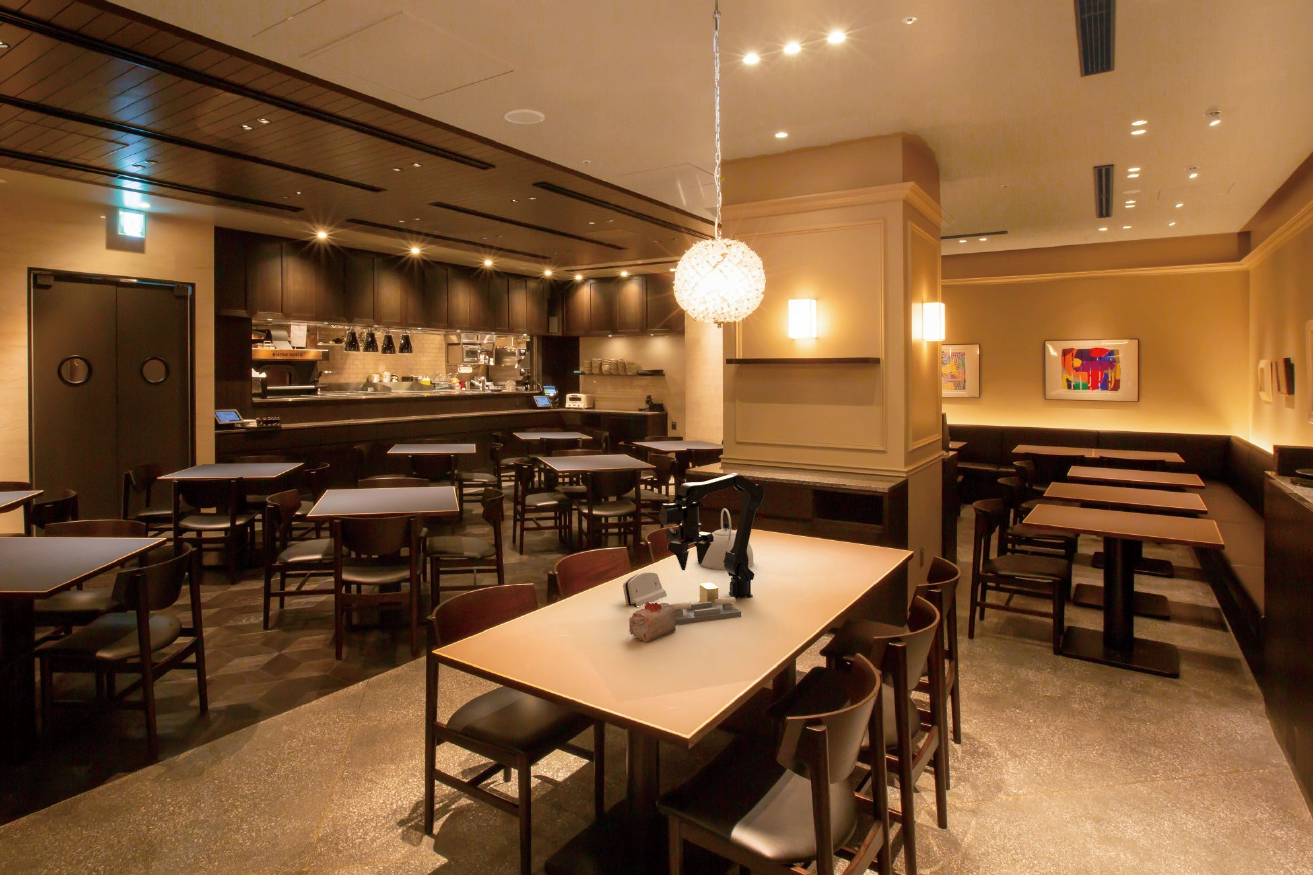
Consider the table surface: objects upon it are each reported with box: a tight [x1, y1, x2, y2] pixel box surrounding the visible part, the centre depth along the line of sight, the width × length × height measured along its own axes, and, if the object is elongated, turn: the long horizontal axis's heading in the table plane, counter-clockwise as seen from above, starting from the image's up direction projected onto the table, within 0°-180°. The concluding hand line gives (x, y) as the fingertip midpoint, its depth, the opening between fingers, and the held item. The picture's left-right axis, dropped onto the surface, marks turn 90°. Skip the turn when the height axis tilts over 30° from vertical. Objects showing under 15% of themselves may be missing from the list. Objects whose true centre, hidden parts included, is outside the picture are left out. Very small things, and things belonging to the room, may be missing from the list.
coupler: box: [699, 582, 719, 604], centre depth 236 cm, size 6×4×6 cm, turn 20°
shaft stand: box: [669, 596, 742, 625], centre depth 224 cm, size 22×10×5 cm, turn 110°
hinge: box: [622, 572, 668, 607], centre depth 241 cm, size 17×5×10 cm, turn 142°
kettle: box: [699, 508, 755, 570], centre depth 291 cm, size 25×23×22 cm
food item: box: [628, 601, 677, 643], centre depth 206 cm, size 14×8×10 cm, turn 137°
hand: (691, 566), depth 235 cm, fingers open, 9 cm apart
